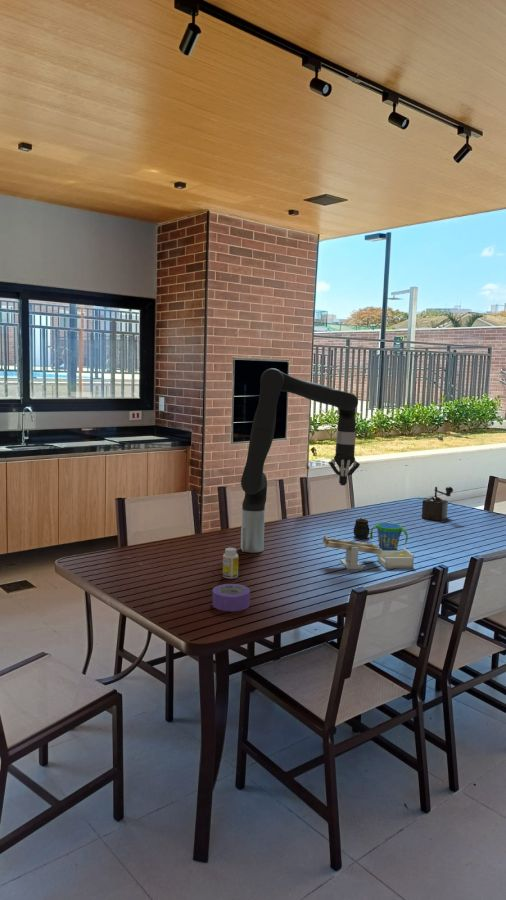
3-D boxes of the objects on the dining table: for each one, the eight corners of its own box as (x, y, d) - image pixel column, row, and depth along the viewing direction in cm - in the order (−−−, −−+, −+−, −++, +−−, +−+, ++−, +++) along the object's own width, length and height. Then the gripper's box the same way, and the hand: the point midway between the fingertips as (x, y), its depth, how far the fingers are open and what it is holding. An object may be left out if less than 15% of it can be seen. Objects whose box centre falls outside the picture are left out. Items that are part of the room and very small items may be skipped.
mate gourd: (368, 535, 297) (369, 514, 295) (369, 539, 289) (371, 518, 288) (352, 534, 297) (353, 513, 296) (353, 539, 290) (354, 517, 288)
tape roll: (240, 614, 196) (241, 598, 195) (206, 608, 200) (206, 592, 200) (255, 601, 207) (255, 586, 206) (221, 596, 211) (222, 581, 211)
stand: (347, 569, 244) (348, 548, 243) (340, 560, 255) (341, 540, 254) (362, 568, 245) (363, 548, 244) (355, 560, 256) (355, 540, 255)
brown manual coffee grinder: (420, 518, 336) (422, 484, 334) (428, 515, 345) (430, 481, 343) (449, 522, 327) (451, 487, 325) (457, 519, 336) (459, 485, 334)
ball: (405, 564, 251) (398, 561, 250) (402, 562, 254) (395, 559, 253) (408, 556, 250) (401, 554, 250) (405, 554, 254) (398, 551, 253)
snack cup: (409, 549, 275) (411, 525, 274) (402, 554, 266) (403, 530, 265) (374, 543, 282) (375, 520, 281) (366, 548, 273) (367, 525, 272)
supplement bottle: (237, 574, 234) (238, 546, 233) (238, 579, 229) (239, 551, 228) (222, 574, 234) (222, 546, 233) (222, 579, 228) (223, 551, 227)
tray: (385, 568, 246) (386, 555, 246) (377, 560, 256) (378, 548, 256) (413, 567, 248) (413, 555, 247) (404, 560, 257) (404, 548, 257)
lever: (326, 546, 245) (327, 539, 244) (319, 538, 256) (320, 531, 256) (381, 554, 248) (382, 547, 247) (372, 546, 259) (373, 539, 259)
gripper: (331, 443, 254) (328, 486, 256) (364, 444, 256) (361, 487, 258) (327, 440, 262) (324, 483, 264) (359, 442, 263) (356, 483, 265)
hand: (342, 485), depth 261 cm, fingers closed
